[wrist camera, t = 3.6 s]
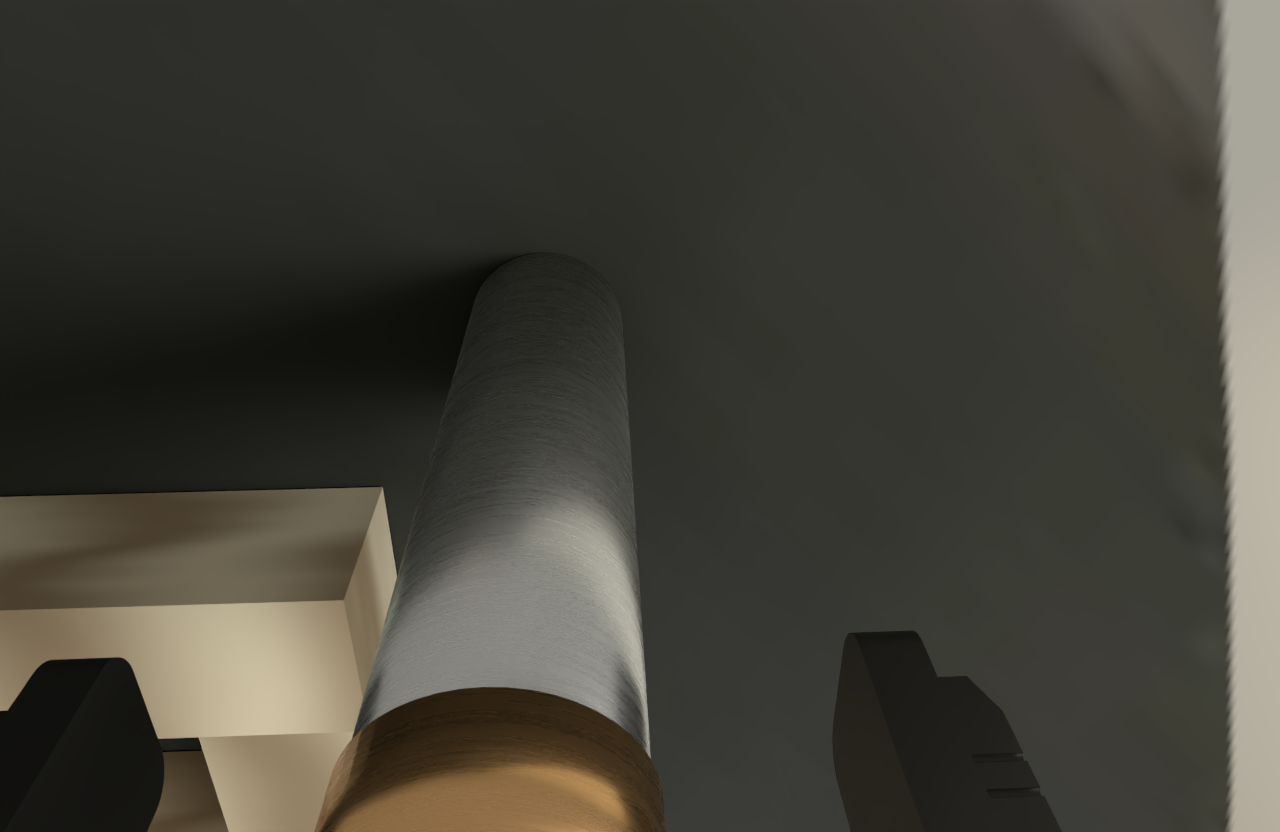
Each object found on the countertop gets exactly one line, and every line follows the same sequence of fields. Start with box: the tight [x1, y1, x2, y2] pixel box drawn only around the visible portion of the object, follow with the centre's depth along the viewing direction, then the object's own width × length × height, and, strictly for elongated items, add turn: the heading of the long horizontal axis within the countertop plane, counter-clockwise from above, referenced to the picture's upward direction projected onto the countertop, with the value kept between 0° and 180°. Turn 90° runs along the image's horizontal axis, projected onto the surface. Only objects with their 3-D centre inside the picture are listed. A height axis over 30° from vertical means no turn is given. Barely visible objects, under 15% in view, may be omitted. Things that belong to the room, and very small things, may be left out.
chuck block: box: [0, 487, 397, 832], centre depth 23 cm, size 12×12×4 cm
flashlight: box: [314, 253, 666, 832], centre depth 14 cm, size 3×3×14 cm
